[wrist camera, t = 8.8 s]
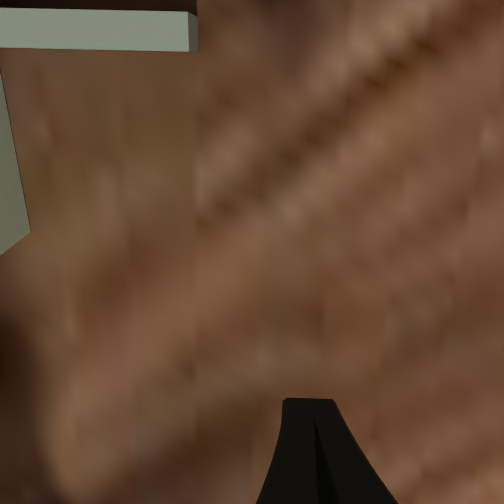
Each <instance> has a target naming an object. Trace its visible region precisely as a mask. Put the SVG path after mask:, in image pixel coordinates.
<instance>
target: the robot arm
mask: <svg viewBox="0 0 504 504" xmlns="http://www.w3.org/2000/svg"><path fill="white" fill-rule="evenodd" d="M256 504H398V502H397V501H396V500H395V498H394V497H393V496H392V494H391V493H390V492H389V490H388V489H387V488H386V486H385V485H384V483H383V482H382V481H381V479H380V478H379V476H378V475H377V473H376V472H375V470H374V469H373V467H372V466H371V464H370V463H369V461H368V460H367V458H366V456H365V455H364V453H363V452H362V450H361V449H360V447H359V445H358V444H357V442H356V440H355V439H354V437H353V435H352V433H351V432H350V430H349V428H348V426H347V425H346V423H345V421H344V419H343V417H342V415H341V413H340V411H339V409H338V407H337V405H336V403H335V402H334V401H333V400H332V399H311V398H286V399H285V400H283V403H282V420H281V428H280V433H279V437H278V441H277V445H276V448H275V452H274V455H273V459H272V462H271V465H270V468H269V471H268V473H267V476H266V479H265V482H264V484H263V487H262V490H261V492H260V495H259V497H258V500H257V502H256Z"/></svg>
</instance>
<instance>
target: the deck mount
mask: <svg viewBox="0 0 504 504" xmlns="http://www.w3.org/2000/svg"><path fill="white" fill-rule="evenodd" d="M0 47H8V48H53V49H98V50H143V51H188V52H199V50H198V17H197V16H195V15H193V14H191V13H189V12H176V11H128V10H81V9H34V8H0ZM30 232H31V231H30V226H29V220H28V215H27V210H26V205H25V199H24V194H23V189H22V184H21V178H20V173H19V168H18V163H17V157H16V152H15V147H14V141H13V136H12V131H11V126H10V120H9V115H8V110H7V105H6V99H5V94H4V89H3V84H2V78H1V73H0V255H2V254H3V253H4V252H5V251H7V250H8V249H9V248H11V247H12V246H13V245H14V244H16V243H17V242H18V241H20V240H21V239H22V238H24V237H25V236H26V235H27V234H29V233H30Z"/></svg>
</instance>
